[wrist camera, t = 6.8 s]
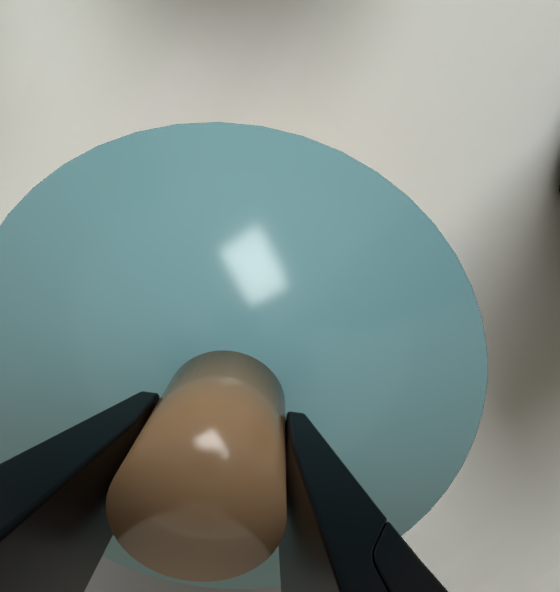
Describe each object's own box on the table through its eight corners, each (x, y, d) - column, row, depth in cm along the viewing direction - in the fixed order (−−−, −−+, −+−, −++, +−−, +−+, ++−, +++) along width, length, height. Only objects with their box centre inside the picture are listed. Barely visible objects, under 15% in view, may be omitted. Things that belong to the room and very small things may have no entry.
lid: (545, 179, 8) (780, 170, 4) (401, 584, 12) (458, 773, 8) (-36, 82, 8) (-359, -28, 4) (5, 536, 11) (-136, 712, 8)
